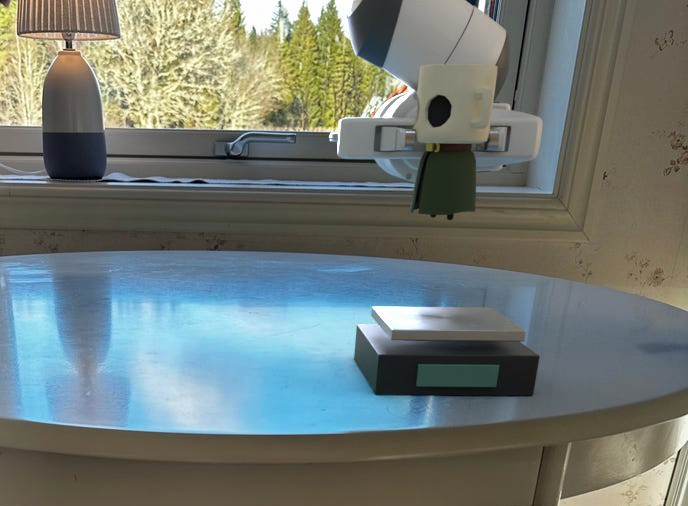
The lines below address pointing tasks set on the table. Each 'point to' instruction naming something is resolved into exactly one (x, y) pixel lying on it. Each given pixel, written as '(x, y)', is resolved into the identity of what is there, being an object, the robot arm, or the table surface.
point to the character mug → (451, 135)
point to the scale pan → (446, 324)
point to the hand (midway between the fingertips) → (452, 139)
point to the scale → (444, 365)
